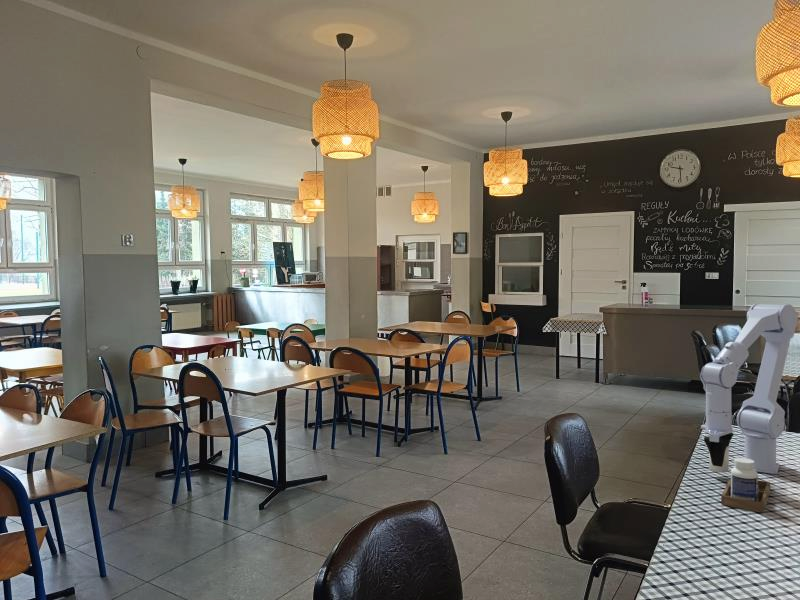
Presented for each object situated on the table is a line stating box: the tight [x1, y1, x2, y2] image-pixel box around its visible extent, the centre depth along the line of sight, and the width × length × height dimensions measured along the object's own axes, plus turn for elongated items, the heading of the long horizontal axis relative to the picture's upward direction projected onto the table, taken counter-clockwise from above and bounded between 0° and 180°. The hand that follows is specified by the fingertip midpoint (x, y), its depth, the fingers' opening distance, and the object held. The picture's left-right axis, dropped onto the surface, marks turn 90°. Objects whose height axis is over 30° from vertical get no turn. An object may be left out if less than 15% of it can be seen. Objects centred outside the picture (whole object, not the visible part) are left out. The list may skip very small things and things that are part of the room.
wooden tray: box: [720, 477, 771, 513], centre depth 136 cm, size 16×8×2 cm, turn 143°
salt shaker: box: [708, 446, 730, 473], centre depth 149 cm, size 4×4×7 cm
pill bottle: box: [730, 457, 759, 502], centre depth 133 cm, size 5×5×10 cm
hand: (719, 463), depth 149 cm, fingers closed on salt shaker, 4 cm apart
